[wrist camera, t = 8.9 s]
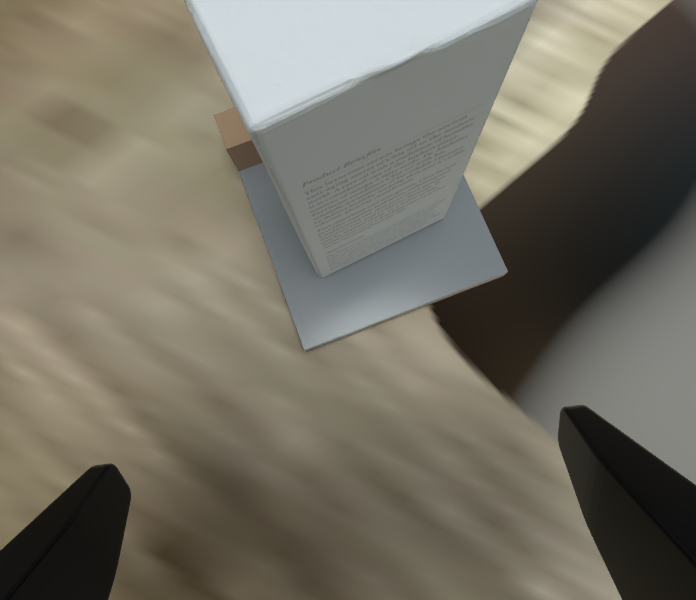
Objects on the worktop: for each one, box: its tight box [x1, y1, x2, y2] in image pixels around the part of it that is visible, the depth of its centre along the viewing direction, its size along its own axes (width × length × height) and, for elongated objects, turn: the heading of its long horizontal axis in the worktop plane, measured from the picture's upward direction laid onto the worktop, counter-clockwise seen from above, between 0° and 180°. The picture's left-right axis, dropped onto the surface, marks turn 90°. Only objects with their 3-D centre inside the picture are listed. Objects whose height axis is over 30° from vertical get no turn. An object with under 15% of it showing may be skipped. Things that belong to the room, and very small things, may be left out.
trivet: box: [214, 108, 508, 352], centre depth 20 cm, size 10×9×3 cm
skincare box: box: [184, 0, 538, 278], centre depth 15 cm, size 6×4×12 cm
